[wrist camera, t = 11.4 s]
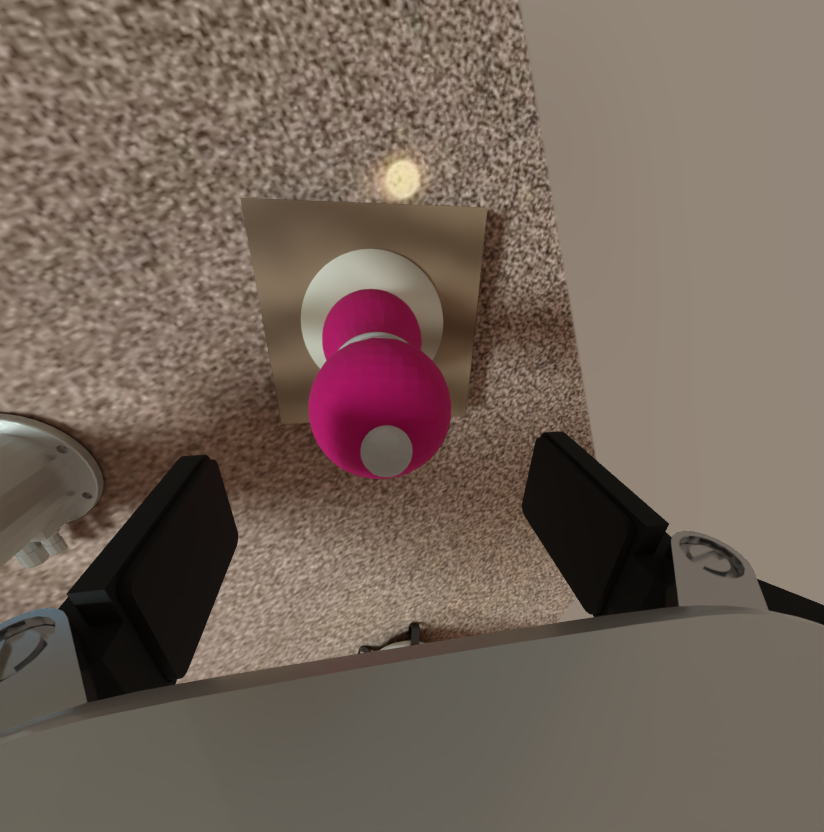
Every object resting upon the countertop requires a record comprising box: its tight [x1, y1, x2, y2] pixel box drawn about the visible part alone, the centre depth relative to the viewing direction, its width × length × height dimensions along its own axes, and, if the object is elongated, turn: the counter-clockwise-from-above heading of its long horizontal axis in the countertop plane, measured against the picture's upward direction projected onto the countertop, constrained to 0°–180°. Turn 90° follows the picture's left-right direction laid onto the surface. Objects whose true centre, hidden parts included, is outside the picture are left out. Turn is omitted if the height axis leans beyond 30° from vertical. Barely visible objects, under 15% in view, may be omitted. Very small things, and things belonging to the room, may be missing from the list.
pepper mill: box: [308, 289, 451, 479], centre depth 19 cm, size 7×7×20 cm
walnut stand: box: [241, 198, 487, 424], centre depth 29 cm, size 18×18×3 cm
